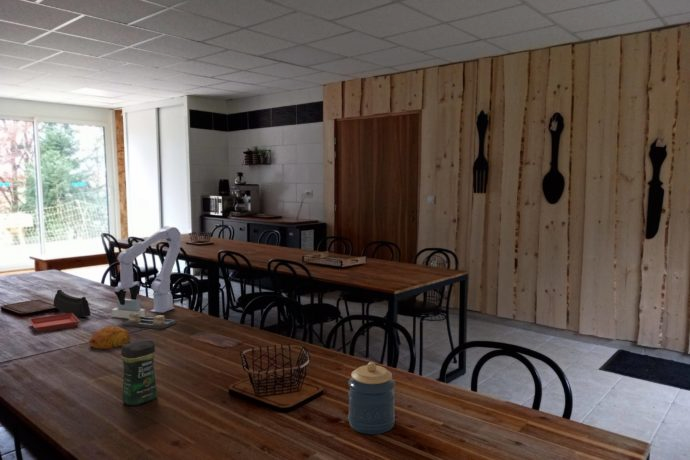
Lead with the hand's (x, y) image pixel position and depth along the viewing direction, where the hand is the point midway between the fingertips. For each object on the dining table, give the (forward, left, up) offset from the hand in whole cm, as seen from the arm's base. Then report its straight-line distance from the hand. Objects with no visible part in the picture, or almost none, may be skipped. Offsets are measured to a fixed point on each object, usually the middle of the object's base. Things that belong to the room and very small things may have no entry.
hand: (128, 302), depth 245 cm
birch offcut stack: (+10, +12, -7) cm, 17 cm away
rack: (+8, +19, -7) cm, 22 cm away
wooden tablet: (+17, +61, -8) cm, 64 cm away
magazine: (+5, -31, -7) cm, 33 cm away
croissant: (+36, +22, -7) cm, 43 cm away
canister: (+67, +144, -7) cm, 159 cm away
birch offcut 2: (+9, +26, -7) cm, 29 cm away
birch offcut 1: (+9, +26, -5) cm, 28 cm away
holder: (0, 0, -7) cm, 7 cm away
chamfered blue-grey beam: (0, 0, -6) cm, 6 cm away
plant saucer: (+23, -22, -8) cm, 33 cm away
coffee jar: (+75, +72, -7) cm, 104 cm away
